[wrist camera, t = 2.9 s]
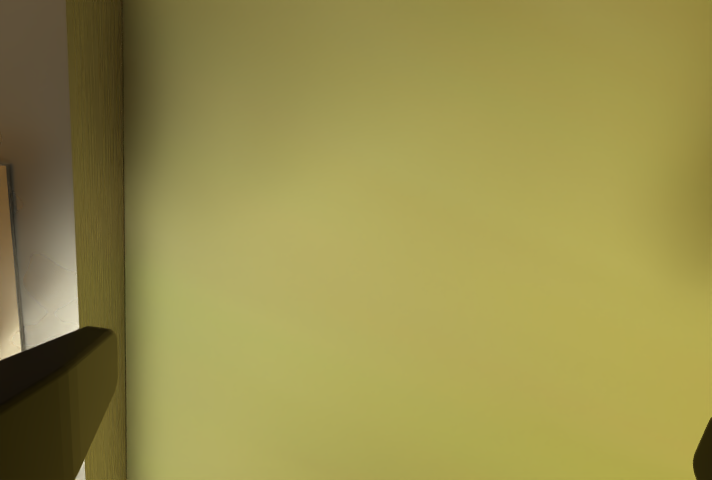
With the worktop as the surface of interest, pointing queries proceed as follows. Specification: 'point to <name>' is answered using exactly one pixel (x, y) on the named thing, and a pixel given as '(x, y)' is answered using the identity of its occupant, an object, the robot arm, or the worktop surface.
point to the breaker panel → (64, 188)
